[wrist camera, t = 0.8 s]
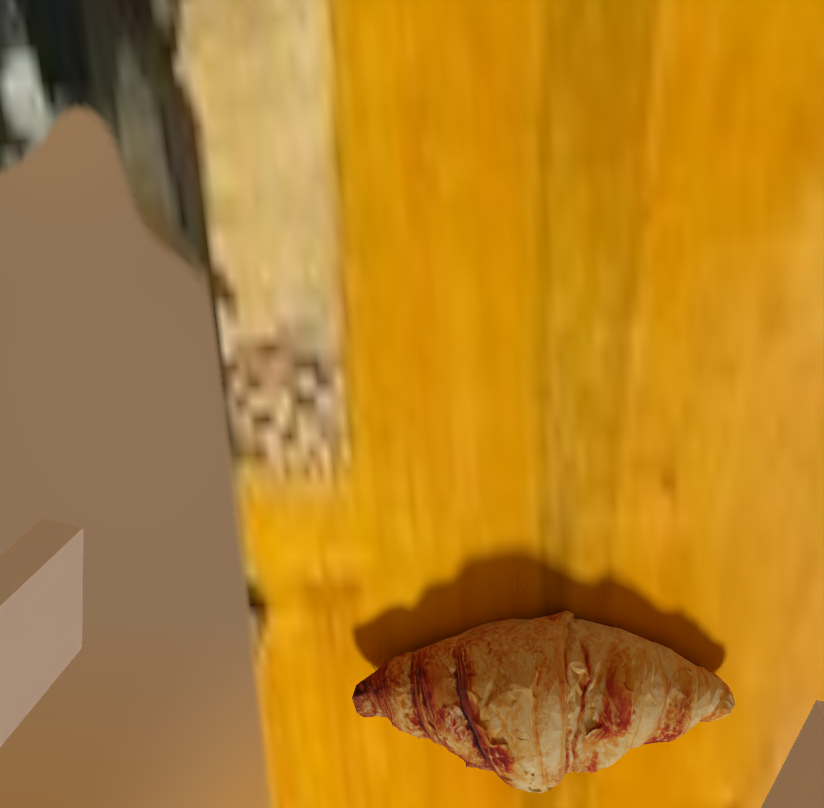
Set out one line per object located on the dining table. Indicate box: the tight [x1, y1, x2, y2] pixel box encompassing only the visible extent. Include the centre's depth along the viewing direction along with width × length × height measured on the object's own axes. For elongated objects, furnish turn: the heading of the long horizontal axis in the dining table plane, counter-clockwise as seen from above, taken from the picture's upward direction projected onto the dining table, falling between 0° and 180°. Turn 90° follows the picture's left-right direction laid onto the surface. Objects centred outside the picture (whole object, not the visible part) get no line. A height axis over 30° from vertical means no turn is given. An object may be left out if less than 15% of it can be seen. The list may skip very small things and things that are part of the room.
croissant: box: [352, 610, 735, 793], centre depth 41 cm, size 21×10×8 cm, turn 96°
